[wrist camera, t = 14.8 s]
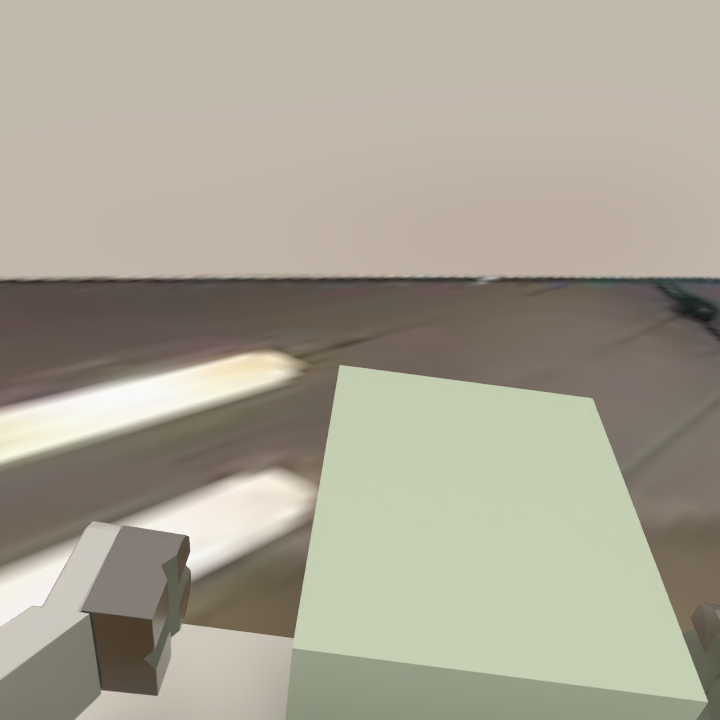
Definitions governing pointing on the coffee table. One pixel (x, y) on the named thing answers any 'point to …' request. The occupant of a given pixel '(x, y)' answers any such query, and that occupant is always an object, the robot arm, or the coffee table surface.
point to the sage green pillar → (479, 565)
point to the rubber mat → (210, 680)
